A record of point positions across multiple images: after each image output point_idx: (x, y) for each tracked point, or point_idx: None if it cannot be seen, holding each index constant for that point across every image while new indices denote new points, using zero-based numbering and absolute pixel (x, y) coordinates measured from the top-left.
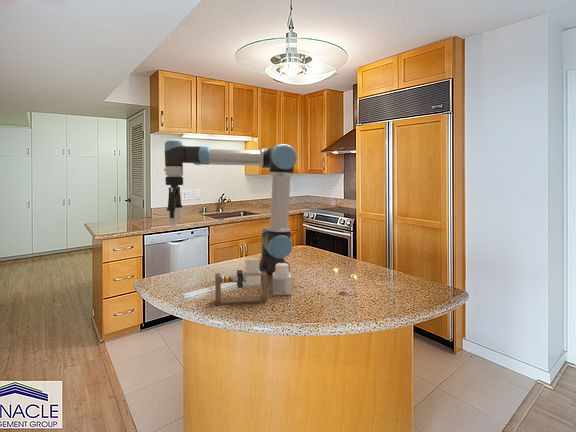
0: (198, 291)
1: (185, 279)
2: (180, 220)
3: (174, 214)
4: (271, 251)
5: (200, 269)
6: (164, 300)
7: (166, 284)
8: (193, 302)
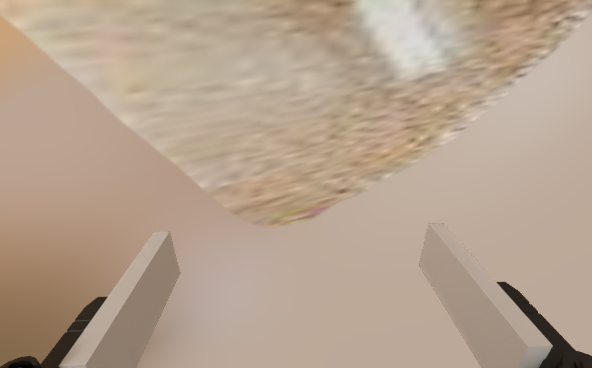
0: (393, 30)
1: (248, 100)
2: (165, 241)
3: (509, 308)
4: None
5: (100, 61)
6: (451, 124)
7: (302, 150)
8: (497, 32)
